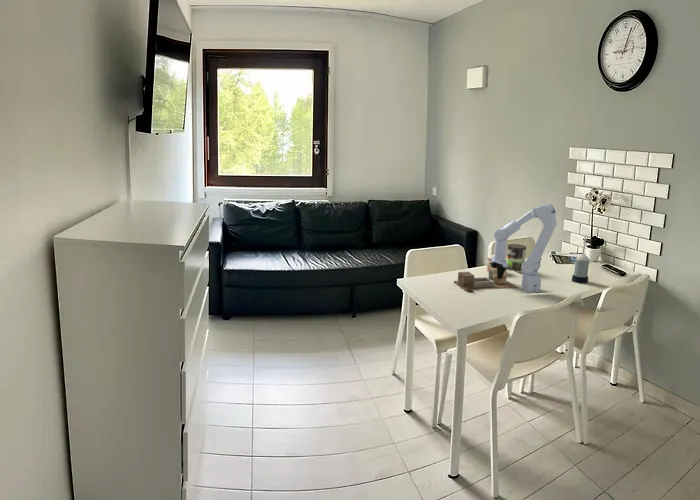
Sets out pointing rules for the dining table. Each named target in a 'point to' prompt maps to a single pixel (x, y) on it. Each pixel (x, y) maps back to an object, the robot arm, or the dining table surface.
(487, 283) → the post board
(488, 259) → the teacup with lid
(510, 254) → the coffee can
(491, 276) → the beige pillar with cap
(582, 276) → the humidifier
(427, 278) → the dining table surface
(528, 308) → the dining table surface
